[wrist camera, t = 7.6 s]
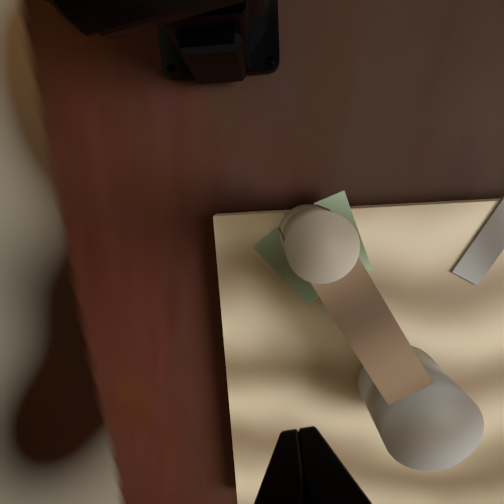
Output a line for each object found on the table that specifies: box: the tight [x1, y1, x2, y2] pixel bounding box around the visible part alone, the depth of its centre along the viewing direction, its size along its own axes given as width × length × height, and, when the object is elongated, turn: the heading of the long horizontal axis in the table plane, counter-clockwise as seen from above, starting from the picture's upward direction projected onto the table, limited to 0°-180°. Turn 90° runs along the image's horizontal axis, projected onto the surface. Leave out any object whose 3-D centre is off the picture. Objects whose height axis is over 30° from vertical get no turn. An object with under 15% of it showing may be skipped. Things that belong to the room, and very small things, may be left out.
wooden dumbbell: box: [279, 204, 484, 471], centre depth 16 cm, size 16×5×5 cm, turn 33°
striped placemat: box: [213, 190, 504, 504], centre depth 20 cm, size 23×22×2 cm
